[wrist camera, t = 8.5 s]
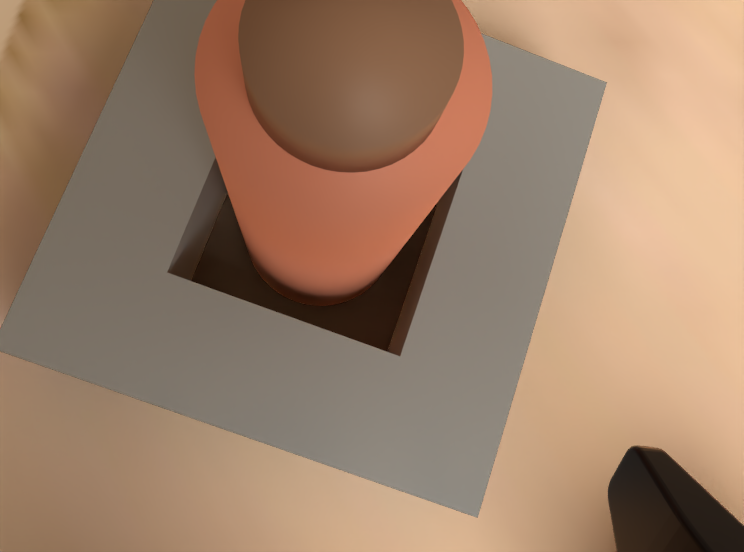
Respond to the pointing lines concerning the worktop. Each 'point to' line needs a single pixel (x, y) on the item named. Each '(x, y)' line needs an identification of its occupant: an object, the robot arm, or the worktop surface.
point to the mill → (338, 129)
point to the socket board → (289, 335)
